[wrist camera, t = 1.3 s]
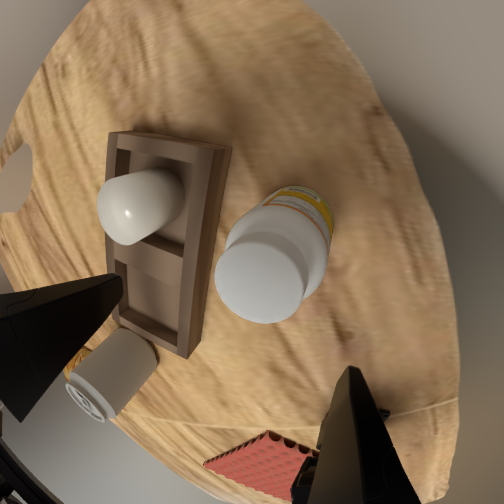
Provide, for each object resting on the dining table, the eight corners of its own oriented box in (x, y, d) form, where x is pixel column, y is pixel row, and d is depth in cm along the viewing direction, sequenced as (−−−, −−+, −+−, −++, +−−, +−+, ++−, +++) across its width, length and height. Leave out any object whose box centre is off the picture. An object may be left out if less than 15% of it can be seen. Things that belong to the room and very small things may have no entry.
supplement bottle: (280, 264, 22) (234, 345, 13) (249, 202, 21) (179, 251, 12) (344, 241, 19) (339, 322, 11) (314, 172, 18) (286, 203, 10)
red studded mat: (205, 459, 46) (201, 466, 45) (269, 426, 33) (265, 437, 31) (306, 499, 44) (304, 506, 43) (397, 473, 31) (396, 482, 29)
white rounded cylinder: (188, 173, 20) (147, 185, 16) (181, 230, 22) (143, 254, 18) (141, 162, 21) (97, 172, 16) (137, 214, 23) (97, 233, 19)
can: (157, 337, 31) (96, 404, 20) (163, 375, 34) (115, 436, 24) (113, 316, 33) (52, 369, 22) (122, 354, 36) (73, 405, 26)
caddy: (232, 148, 19) (214, 150, 17) (200, 341, 28) (187, 359, 26) (132, 130, 21) (108, 132, 19) (128, 305, 30) (112, 318, 28)
